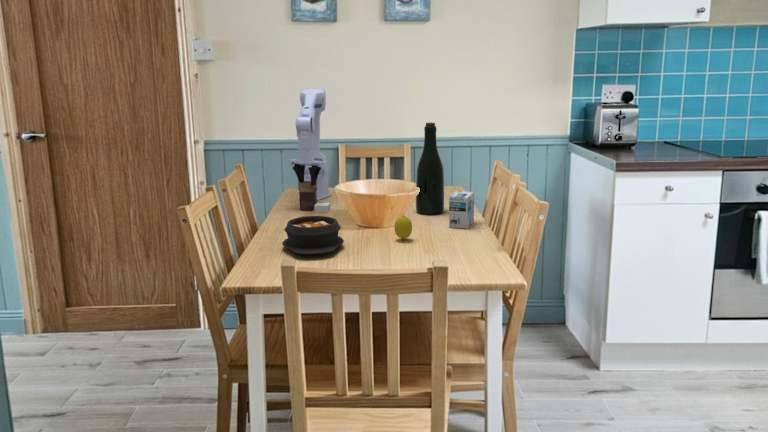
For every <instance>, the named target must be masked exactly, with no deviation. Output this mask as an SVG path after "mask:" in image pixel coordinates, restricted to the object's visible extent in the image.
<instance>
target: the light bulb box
mask: <svg viewBox="0 0 768 432" xmlns="http://www.w3.org/2000/svg"><path fill="white" fill-rule="evenodd" d="M448 200H449V201H448V203H449V204H448V206H449V207H448V210H449V211H448V228H453V229H455V228H456V229H464V230H466V229H467V230H468V229H470V228H469V227H471V226H472V224H473V223H474V221H475V192H474V191H465V190H464V191H462V190H455V191H454V192H453V193H452V194H451V195H449V197H448Z"/></svg>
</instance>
